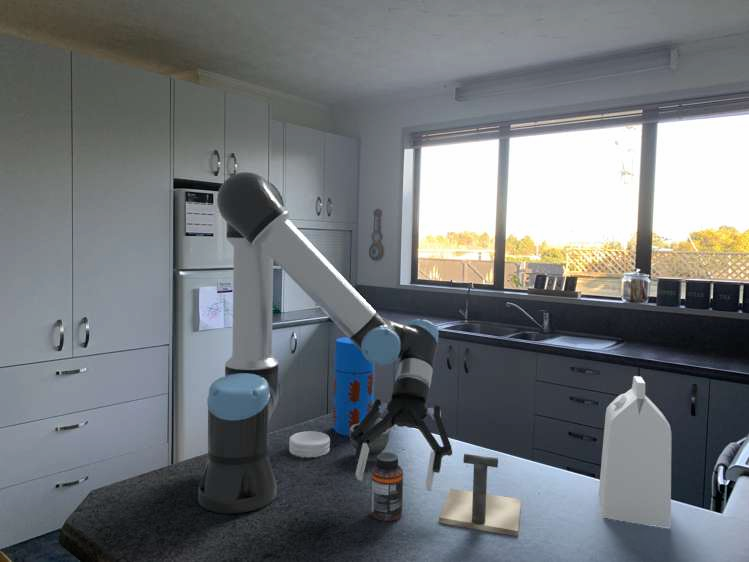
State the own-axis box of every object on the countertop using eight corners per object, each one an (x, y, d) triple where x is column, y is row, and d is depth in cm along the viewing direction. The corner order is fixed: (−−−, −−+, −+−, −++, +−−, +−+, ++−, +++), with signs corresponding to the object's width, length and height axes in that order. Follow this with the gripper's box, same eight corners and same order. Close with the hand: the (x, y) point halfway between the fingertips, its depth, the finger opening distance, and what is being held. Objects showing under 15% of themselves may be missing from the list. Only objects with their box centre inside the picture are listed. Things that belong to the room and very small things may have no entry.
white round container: (280, 451, 134) (280, 437, 134) (309, 441, 142) (309, 427, 142) (310, 462, 128) (310, 447, 128) (338, 450, 136) (338, 436, 136)
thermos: (380, 428, 152) (382, 339, 151) (358, 439, 143) (361, 345, 142) (348, 421, 158) (350, 335, 157) (325, 431, 149) (327, 340, 148)
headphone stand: (439, 523, 100) (441, 453, 100) (450, 493, 113) (453, 430, 112) (517, 537, 96) (520, 464, 96) (521, 504, 109) (523, 439, 108)
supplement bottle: (383, 504, 107) (385, 447, 107) (408, 514, 104) (410, 455, 103) (364, 515, 103) (365, 456, 102) (389, 526, 99) (390, 465, 98)
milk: (670, 529, 100) (678, 390, 99) (602, 518, 104) (609, 383, 103) (659, 501, 112) (666, 375, 110) (598, 492, 115) (605, 370, 114)
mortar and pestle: (385, 466, 126) (386, 415, 125) (345, 462, 128) (346, 412, 127) (392, 449, 137) (393, 402, 136) (355, 445, 139) (356, 399, 138)
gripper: (472, 399, 116) (460, 500, 102) (360, 388, 123) (335, 481, 109) (470, 380, 110) (457, 484, 97) (352, 370, 117) (326, 465, 104)
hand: (392, 483), depth 103 cm, fingers open, 13 cm apart
